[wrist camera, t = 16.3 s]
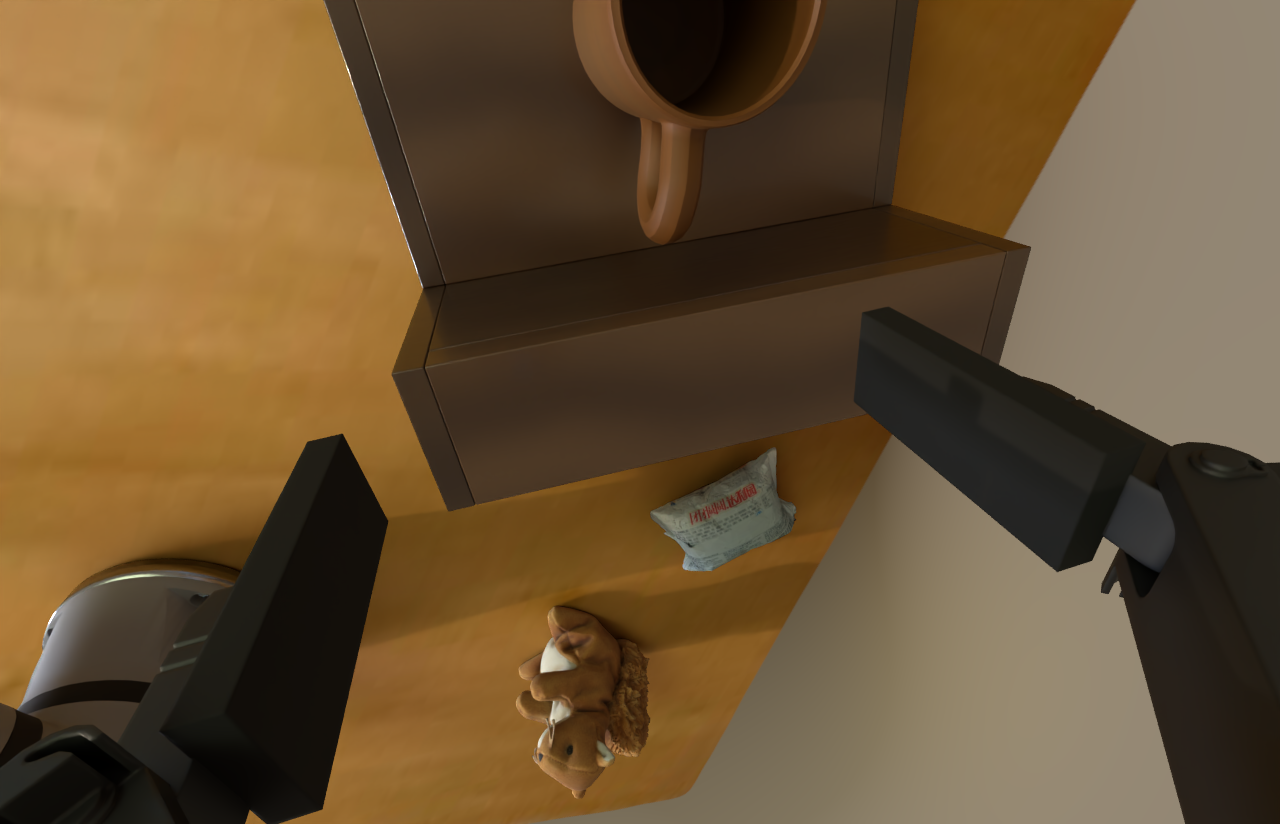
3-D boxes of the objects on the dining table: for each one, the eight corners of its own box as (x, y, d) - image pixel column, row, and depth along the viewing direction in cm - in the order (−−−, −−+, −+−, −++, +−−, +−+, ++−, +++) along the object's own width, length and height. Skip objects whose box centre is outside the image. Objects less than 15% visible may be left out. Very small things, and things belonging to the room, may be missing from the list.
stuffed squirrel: (547, 599, 51) (560, 741, 40) (666, 627, 57) (706, 756, 46) (501, 665, 54) (501, 812, 43) (618, 685, 60) (645, 818, 49)
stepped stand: (332, -57, 25) (146, -217, 12) (862, -109, 29) (1177, -279, 15) (466, 359, 37) (448, 512, 24) (830, 286, 41) (993, 385, 27)
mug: (693, 219, 30) (763, 268, 22) (554, 202, 28) (576, 248, 20) (748, -60, 24) (870, -132, 16) (578, -109, 22) (622, -218, 14)
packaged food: (643, 495, 47) (657, 535, 43) (766, 434, 46) (792, 468, 42) (678, 553, 52) (694, 594, 48) (789, 499, 51) (814, 535, 47)
